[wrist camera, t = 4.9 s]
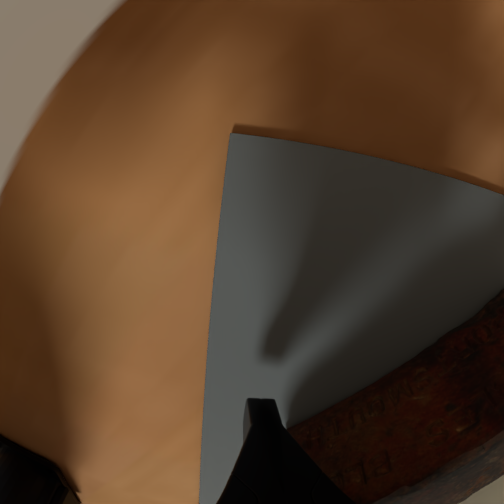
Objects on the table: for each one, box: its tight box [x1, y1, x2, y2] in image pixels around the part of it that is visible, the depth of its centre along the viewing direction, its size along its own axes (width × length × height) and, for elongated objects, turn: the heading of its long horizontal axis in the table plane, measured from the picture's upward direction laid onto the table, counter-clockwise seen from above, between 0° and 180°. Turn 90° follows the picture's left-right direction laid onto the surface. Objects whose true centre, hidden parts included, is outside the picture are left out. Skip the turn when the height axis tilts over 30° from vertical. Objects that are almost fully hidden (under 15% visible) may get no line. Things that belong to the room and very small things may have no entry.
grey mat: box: [199, 133, 504, 504], centre depth 11 cm, size 22×20×1 cm
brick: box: [287, 289, 504, 504], centre depth 8 cm, size 11×4×5 cm, turn 128°
